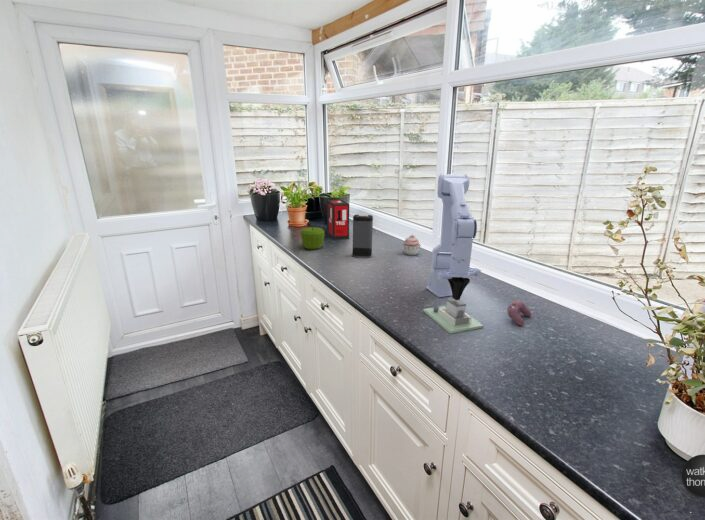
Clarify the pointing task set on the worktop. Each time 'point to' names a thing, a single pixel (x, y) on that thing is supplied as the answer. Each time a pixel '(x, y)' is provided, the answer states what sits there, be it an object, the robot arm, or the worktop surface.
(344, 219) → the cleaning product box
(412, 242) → the cupcake
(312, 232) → the apple
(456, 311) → the plug
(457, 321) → the board
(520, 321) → the video game controller
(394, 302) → the worktop surface
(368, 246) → the electronic device
